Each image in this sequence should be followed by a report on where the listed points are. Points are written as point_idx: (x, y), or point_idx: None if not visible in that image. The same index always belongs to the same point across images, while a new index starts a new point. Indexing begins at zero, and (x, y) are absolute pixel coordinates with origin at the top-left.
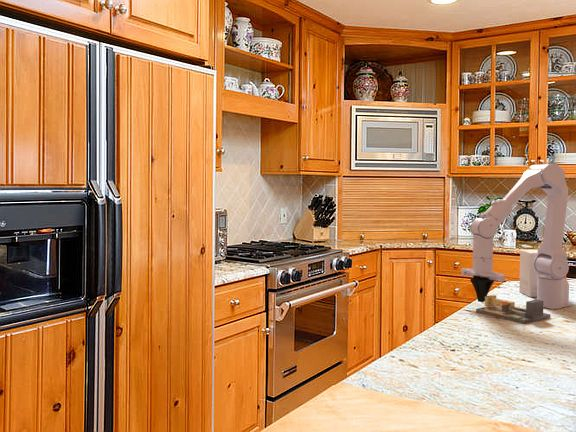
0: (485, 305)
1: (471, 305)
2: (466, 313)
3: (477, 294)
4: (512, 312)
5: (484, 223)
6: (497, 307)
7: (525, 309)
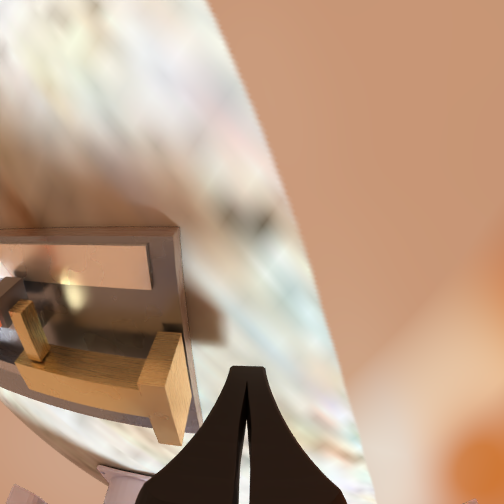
0: (174, 335)
1: (330, 351)
2: (192, 134)
3: (260, 401)
4: None
5: None
6: None
7: (13, 368)
